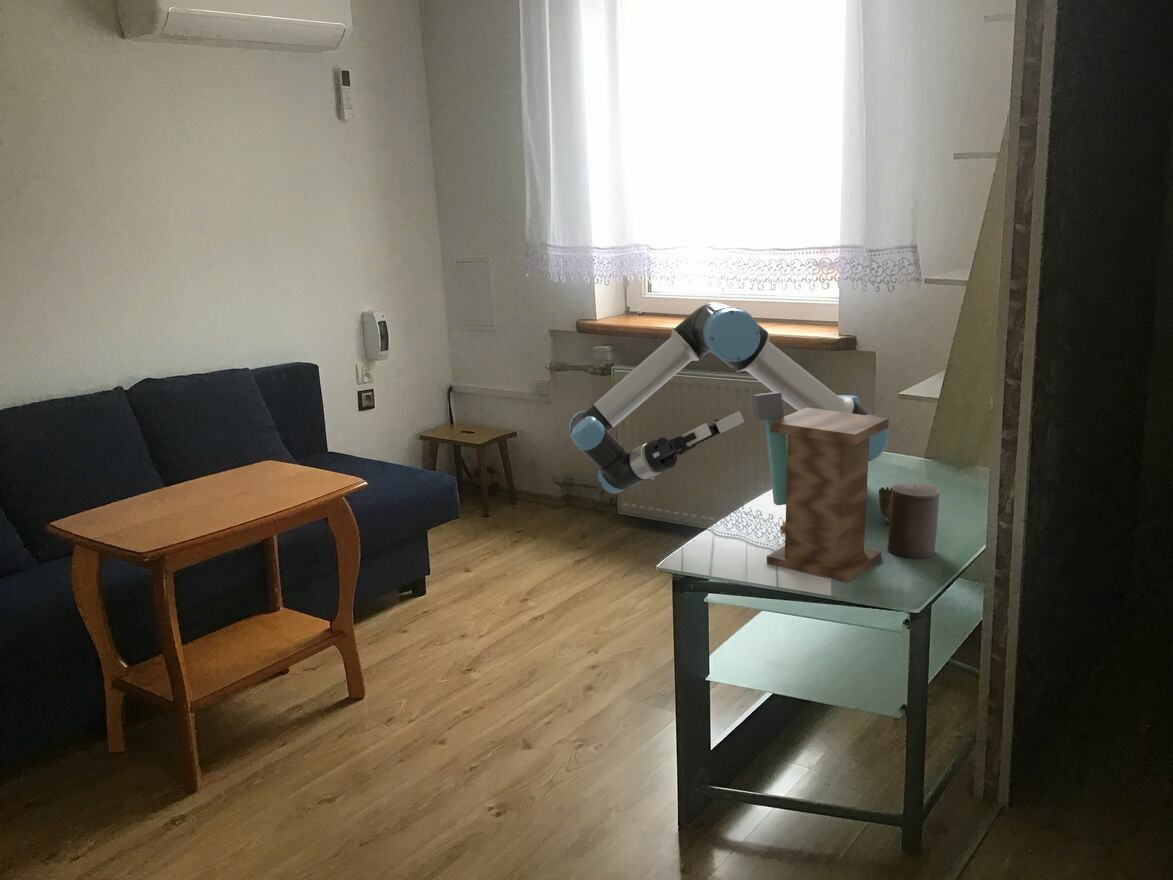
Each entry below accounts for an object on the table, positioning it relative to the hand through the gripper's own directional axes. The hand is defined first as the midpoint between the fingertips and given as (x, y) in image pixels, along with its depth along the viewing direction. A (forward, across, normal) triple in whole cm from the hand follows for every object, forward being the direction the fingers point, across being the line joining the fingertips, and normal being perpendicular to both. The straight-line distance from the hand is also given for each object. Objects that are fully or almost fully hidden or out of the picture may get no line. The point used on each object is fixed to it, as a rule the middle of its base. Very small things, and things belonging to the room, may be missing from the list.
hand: (725, 422), depth 225 cm
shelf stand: (+8, 0, -35) cm, 36 cm away
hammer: (+11, +1, -10) cm, 15 cm away
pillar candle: (+18, -16, -41) cm, 48 cm away
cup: (+10, -30, -36) cm, 48 cm away
